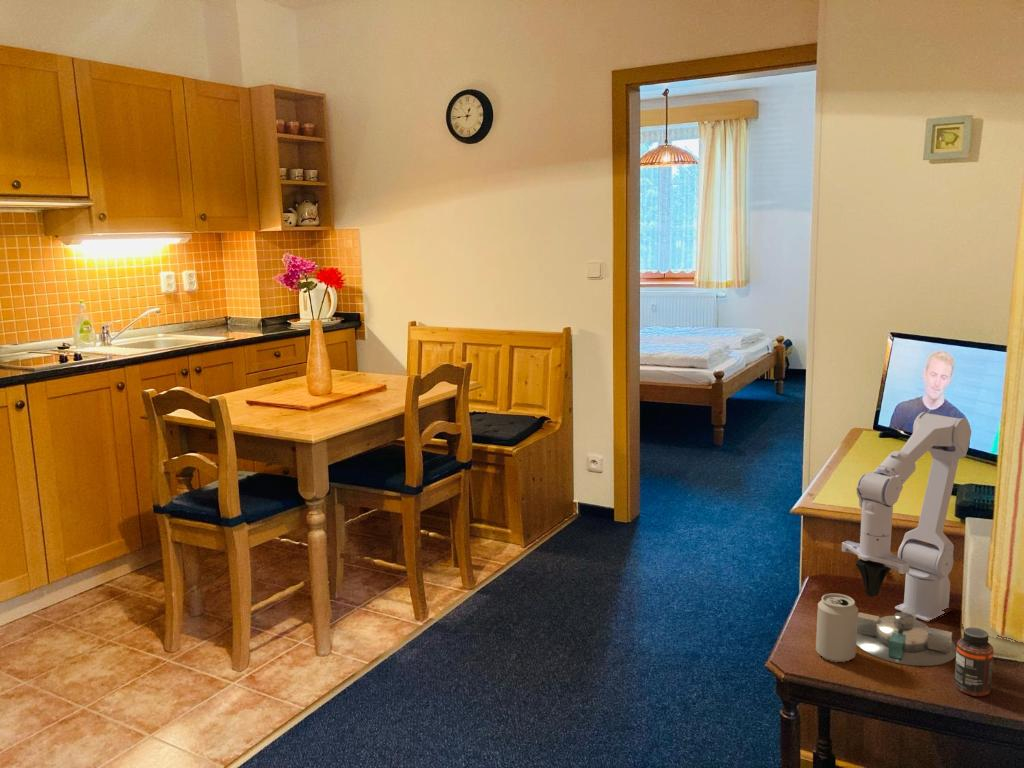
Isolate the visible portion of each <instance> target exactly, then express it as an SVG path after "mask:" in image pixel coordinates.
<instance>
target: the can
mask: <svg viewBox="0 0 1024 768" xmlns="http://www.w3.org/2000/svg"><path fill="white" fill-rule="evenodd" d="M821 596H822V597H821V600H820V601H818V603H817V615H816V617H817V618H816V636H815V639H816V640H815V652H817V654H818V655H820V657H821V656H822V659H824V660H826V661H828V660H830V661H829V662H832V663H837V662H843V663H846V662H845V661H848V662H850V661H849V660H853V659H854V658H855V657H856V652H857V645H856V638H857V621H858V614H859V607H857V606H856V601H855V599H853V598H852V597H851V596H848V595H846V594H842V593H826V594H823V595H821ZM833 661H834V662H833Z"/></svg>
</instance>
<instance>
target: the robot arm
mask: <svg viewBox="0 0 1024 768" xmlns="http://www.w3.org/2000/svg"><path fill="white" fill-rule="evenodd" d="M971 438H972V429H971V425H970V423H969V421H968V420H967V419H966V418H963V417H961V418H960V417H953V416H946V415H940V414H935V413H928V412H926V411H922V412H920V413H919V414H918V415H917V416H916V418H915V419H914V421H913V426H912V434H911V435H910V437H909V438H908V439H907V441H906V442H905V443H904V445H903V446H902V448H901V449H900V450H894V451H891V453H889V454H888V455H887V456H886V458H884V460H883V461H882V462H881V463H880V464H879V465H878V466H877V467H876V468H875V469H874V471H869V472H867V473H864V474H862V475H861V476H860V478H859V480H858V482H857V487H856V495H857V498H858V501H859V502H858V505H859V508H861V517H860V520H861V521H860V537H859V543H858V542H855V541H850V540H846V541H843V542H841V552H843V553H850V554H853V555H855V556H857V558H858V559H859V560H856V561H855V566H856V567H857V569H858V571H859V573H860V575H861V578H862V581H863V585H864V589H865V594H866V596H869V597H872V598H873V597H876V596H878V595H879V593H880V590H881V587H882V584H883V583H884V580H885V578H886V576H887V575H888V573H889V572H890V570H895V571H897V572H898V573H899V574H902V575H904V574H905V579H904V580H905V583H904V597H903V598H904V599H903V603H900V604H898V605H896V606H894V609H895V610H897V611H898V612H899V611H900V612H902V611H903V608H904V607H907V608H912V609H916V619H920V620H922V621H925V622H930V620H931V621H933V620H935V619H937V618H936V617H938V616H940V615H942V614H944V613H945V612H944V611H942V610H944V609H946V608H950V607H949V605H950V604H949V603H950V593H951V592H950V591H951V581H950V578H949V574H950V573H951V572H952V570H953V566H954V547H955V545H954V544H953V542H952V541H951V540H950V539H949V538H948V536H947V535H946V534H945V533H944V528H945V523H946V520H947V515H948V510H949V506H950V501H951V498H952V497H951V496H952V491H953V487H954V483H955V480H956V473H957V469H958V465H959V461H960V459H963V458H966V456H967V452H968V450H969V446H970V441H971ZM927 452H929V454H930V456H931V458H932V461H931V465H930V470H929V474H928V479H927V484H926V488H925V493H924V498H923V502H922V505H921V506H922V507H921V511H920V515H919V519H918V524H917V527H915V528H913V529H911V530H909V531H906V532H905V533H904V536H903V539H902V541H901V544H900V546H899V547H898V549H897V550H898V551H897V555H895V554H894V553H892V552H891V546H892V545H891V543H892V530H893V529H892V526H893V511H894V505H895V504H896V503H898V501H899V498H900V496H901V492H902V491H903V489H904V487H903V485H904V484H905V483H906V482H907V481H908V479H909V478H910V477H911V476H912V474H914V472H915V471H916V468H917V467H916V462H917V461H918V460H919V459H921V457H923V456H924V455H925V454H927ZM920 541H921V542H920ZM924 542H925V543H924ZM942 616H943V615H942ZM940 617H941V616H940ZM934 618H935V619H934ZM938 618H939V617H938ZM932 619H933V620H932Z"/></svg>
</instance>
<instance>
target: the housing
mask: <svg viewBox="0 0 1024 768" xmlns="http://www.w3.org/2000/svg"><path fill="white" fill-rule="evenodd" d="M893 616H894V625H895V626H896V627H898V628H901V629H912V628H913V621H914V617H913V616H912V615H911V614H908V613H904V612H902V611H900V612H899V611H898V612H895V613H894V614H893ZM928 627H929V626H928ZM929 628H931V627H929ZM856 647H858V648H859V649H861V650H862V651H863V652H864V653H867V654H868V655H871V656H873V657H875V658H878V659H881V660H883V661H887V662H890V663H895V664H898V665H905V666H912V667H913V666H914V667H933V666H934V667H935V666H941V665H945V664H947V663H949V662H951V661H953V660H955V659H956V650H957V644H955V643H954V641H953V639H952V640H951V649H950V653H947V652H942V651H938V650H933V649H929V648H927V649H925V650H923V651H917V652H908V651H905V652H904V655H903V657H902V660H901V659H897V658H893V657H888V654H889V647H888V646H885V645H884V644H882V643H881V642H879V641H878V640H877V638H876V636H872V635H868V634H863V633H859V632H857V638H856Z"/></svg>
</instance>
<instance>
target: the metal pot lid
mask: <svg viewBox="0 0 1024 768" xmlns="http://www.w3.org/2000/svg"><path fill="white" fill-rule="evenodd" d="M901 612H904V613H908V614H911V615H912V616H913V617H914V621H913V628H912V629H901V628H898V627H896V626H895V625H894V615H885V616H882V617H880V616H877V615H874V614H873V615H872V614H869V613H864V612H859V611H858V621H857V632H859V633H863V634H868V635H872V636H876V638H877V640H878V641H879V642H881V643H882V644H884V645H885V646H888V647H889V654H888V657H893V658H897V659H901V660H902V657H903V655H904V652H905V651H908V652H917V651H923V650H925V649H927V648H929V649H933V650H938V651H942V652H947V653H950V649H951V640H952V641H953V639H952V637H953V632H952V631H948V630H943V629H938V628H934V627H930V628H929V626H928V625H927V624H926V623H924V622H922V621H920V620H917V617H916V609H912V608H907V607H904V608H903V611H901Z"/></svg>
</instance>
